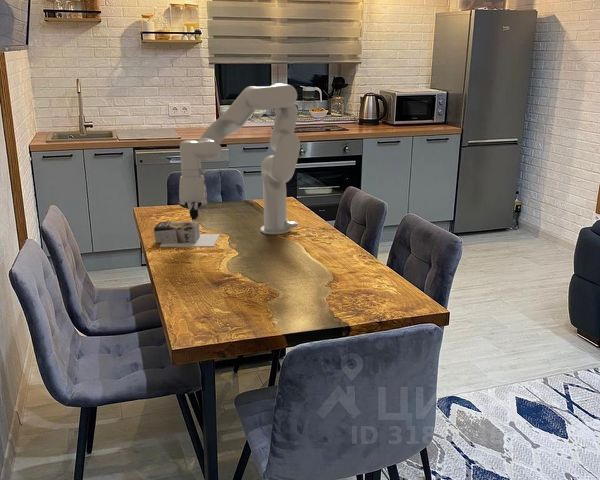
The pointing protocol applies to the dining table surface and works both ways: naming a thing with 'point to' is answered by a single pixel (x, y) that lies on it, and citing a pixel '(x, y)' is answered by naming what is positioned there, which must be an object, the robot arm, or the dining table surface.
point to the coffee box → (177, 232)
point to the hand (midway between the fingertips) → (194, 218)
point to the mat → (202, 241)
